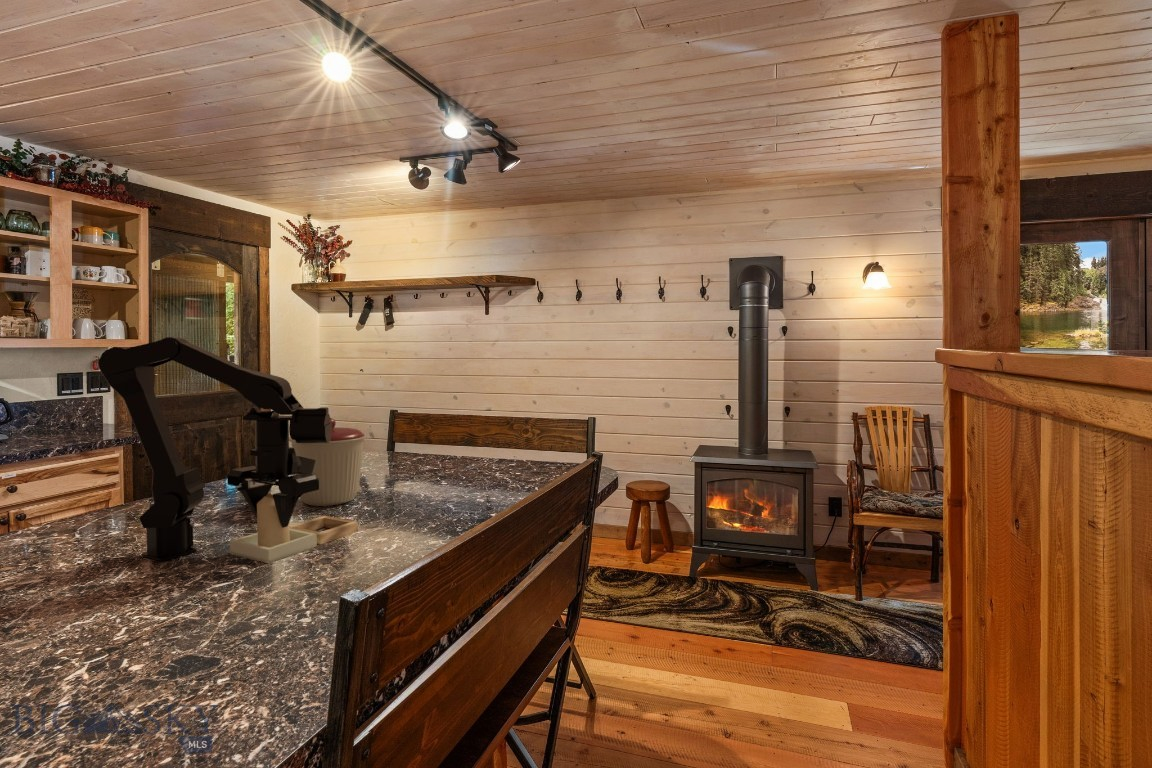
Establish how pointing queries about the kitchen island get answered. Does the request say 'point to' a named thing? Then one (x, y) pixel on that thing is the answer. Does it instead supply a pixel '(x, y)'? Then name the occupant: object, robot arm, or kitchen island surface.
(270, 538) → the candle
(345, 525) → the tan shallow square box
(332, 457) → the canister
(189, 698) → the kitchen island surface
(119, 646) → the kitchen island surface
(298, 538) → the parts tray
